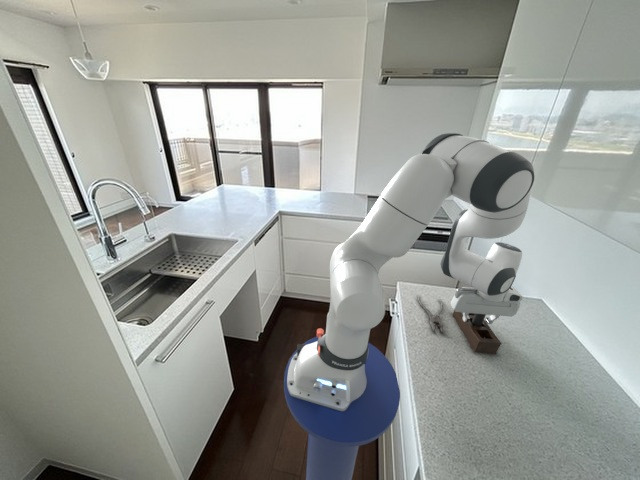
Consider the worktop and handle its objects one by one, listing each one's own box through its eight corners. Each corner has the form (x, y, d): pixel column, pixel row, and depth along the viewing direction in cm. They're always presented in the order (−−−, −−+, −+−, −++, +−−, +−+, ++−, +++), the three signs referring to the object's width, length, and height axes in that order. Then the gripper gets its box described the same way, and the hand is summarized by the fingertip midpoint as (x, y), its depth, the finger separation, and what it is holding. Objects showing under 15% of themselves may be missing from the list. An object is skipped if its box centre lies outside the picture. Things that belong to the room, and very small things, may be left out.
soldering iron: (470, 335, 90) (484, 302, 83) (466, 329, 92) (479, 296, 86) (478, 336, 89) (493, 302, 83) (474, 330, 92) (488, 297, 86)
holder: (474, 352, 83) (479, 341, 81) (452, 314, 99) (456, 304, 97) (495, 354, 83) (501, 343, 81) (470, 316, 99) (474, 306, 97)
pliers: (439, 296, 107) (461, 332, 89) (438, 298, 108) (461, 334, 90) (416, 295, 107) (434, 330, 89) (415, 296, 108) (433, 332, 90)
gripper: (462, 292, 80) (450, 325, 86) (528, 297, 79) (512, 330, 85) (453, 281, 86) (443, 312, 92) (516, 285, 85) (501, 317, 91)
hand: (476, 321), depth 89 cm, fingers open, 6 cm apart
